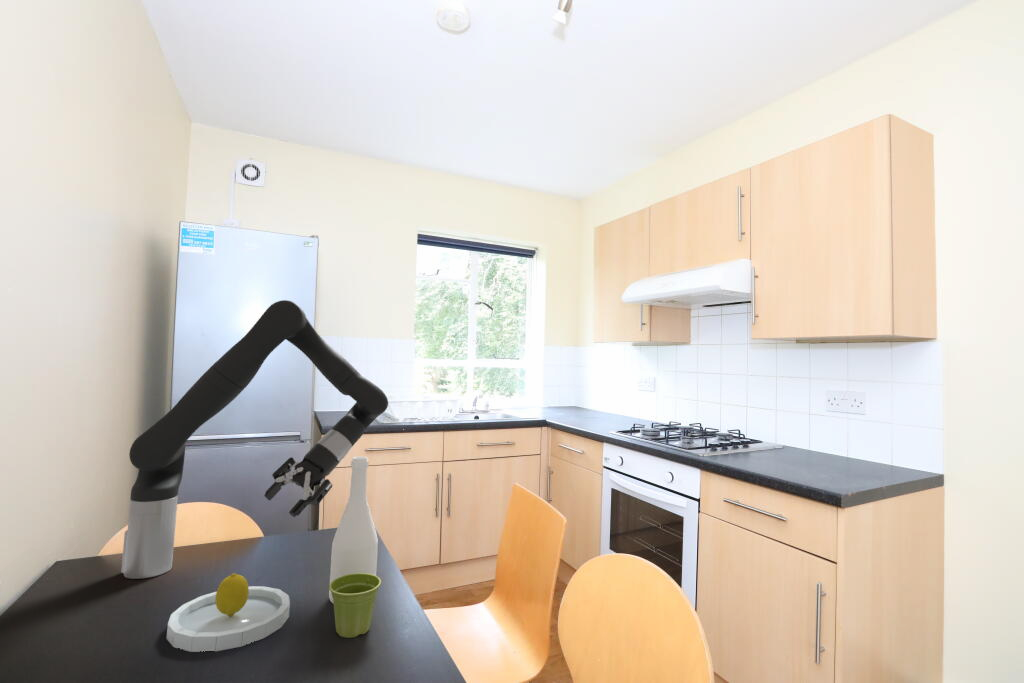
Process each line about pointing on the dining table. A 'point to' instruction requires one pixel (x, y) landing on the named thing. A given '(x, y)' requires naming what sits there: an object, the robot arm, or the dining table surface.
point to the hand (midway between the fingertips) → (278, 506)
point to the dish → (227, 621)
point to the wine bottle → (355, 530)
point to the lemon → (232, 594)
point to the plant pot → (354, 602)
